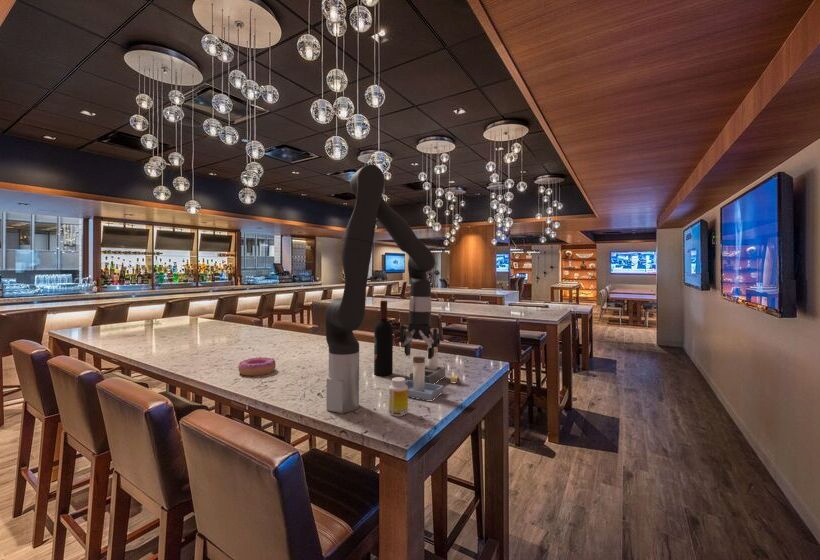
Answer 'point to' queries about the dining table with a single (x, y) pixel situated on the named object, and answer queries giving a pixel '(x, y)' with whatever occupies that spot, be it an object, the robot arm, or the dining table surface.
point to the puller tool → (453, 378)
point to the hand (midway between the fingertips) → (418, 357)
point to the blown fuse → (419, 373)
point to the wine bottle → (383, 344)
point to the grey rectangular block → (432, 375)
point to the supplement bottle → (398, 397)
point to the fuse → (433, 361)
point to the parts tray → (429, 393)
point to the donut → (257, 366)
